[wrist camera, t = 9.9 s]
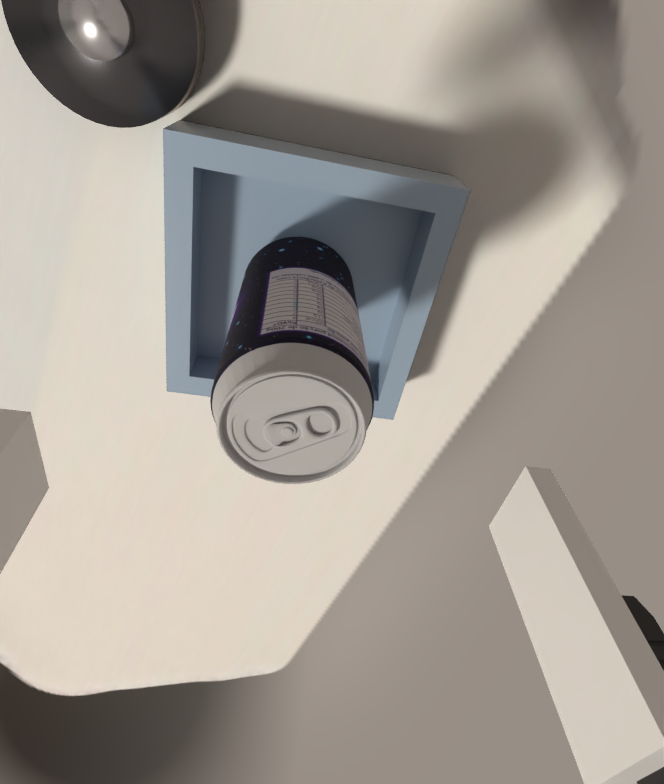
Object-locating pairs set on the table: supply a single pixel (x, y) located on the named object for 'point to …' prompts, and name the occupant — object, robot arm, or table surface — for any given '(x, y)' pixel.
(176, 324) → the tray
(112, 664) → the table surface
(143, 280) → the table surface
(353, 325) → the beverage can
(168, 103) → the grey flat rectangular frame
